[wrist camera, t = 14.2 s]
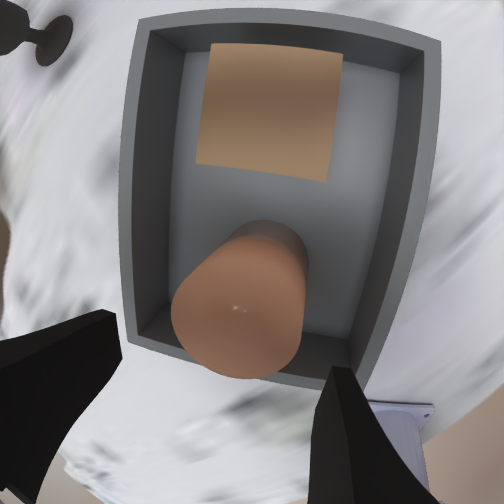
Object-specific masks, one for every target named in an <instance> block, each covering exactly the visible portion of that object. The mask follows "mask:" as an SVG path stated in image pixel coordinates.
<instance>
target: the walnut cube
mask: <svg viewBox="0 0 504 504" xmlns="http://www.w3.org/2000/svg"><path fill="white" fill-rule="evenodd" d="M342 60H343V54H340V53H334V52H328V51H322V50H315V49H307V48H299V47H290V46H278V45H264V44H237V43H216V44H211V50H210V56H209V62H208V68H207V75H206V81H205V88H204V95H203V102H202V110H201V118H200V126H199V134H198V143H197V152H196V162H195V163H196V164H205V165H214V166H223V167H231V168H238V169H246V170H253V171H260V172H267V173H273V174H280V175H286V176H292V177H298V178H304V179H309V180H315V181H320V182H326V181H327V175H328V169H329V162H330V156H331V149H332V142H333V135H334V128H335V121H336V113H337V105H338V97H339V88H340V79H341V70H342Z"/></svg>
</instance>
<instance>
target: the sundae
mask: <svg viewBox="0 0 504 504" xmlns="http://www.w3.org/2000/svg"><path fill="white" fill-rule="evenodd" d="M29 24H30V20H29V17H28V13H27V11H26V10H25V9H23V8H21V7H20V6H18V5H16V4H14V3H12V2H10V1H7V0H0V56H1V55H6V54H9V53H10V52H11V51H13V50H14V49H16V48H17V47H18V46H19V45H20V44H21V43H22V42H24V41H26V42H32V43H35V44H37V47H36V59H37V62H38V64H39V65H41V66H48V65H50V64H51V63H53V62H54V61H55V60H57V58H58V57H59V56H60V55H61V54H62V52H63V51H64V49H65V48H66V46H67V44H68V42H69V39H70V37H71V33H72V21H71V19H70V17H68V16H66V15H63V16H59V17H57V18H55V19H54V20H53V21H52V22H50V24H49V25H48V26H47V27H46V28H45V29H44V30H37V29H33V28H30V26H29Z"/></svg>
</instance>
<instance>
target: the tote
mask: <svg viewBox="0 0 504 504" xmlns="http://www.w3.org/2000/svg"><path fill="white" fill-rule="evenodd" d="M216 43H237V44H264V45H278V46H290V47H299V48H307V49H315V50H322V51H328V52H334V53H340V54H343V60H342V70H341V79H340V88H339V97H338V105H337V113H336V121H335V128H334V135H333V142H332V149H331V156H330V162H329V169H328V175H327V181H326V182H320V181H315V180H309V179H304V178H298V177H292V176H286V175H280V174H273V173H267V172H260V171H253V170H246V169H238V168H231V167H223V166H214V165H205V164H196V163H195V162H196V152H197V143H198V134H199V126H200V118H201V110H202V102H203V95H204V88H205V81H206V75H207V68H208V62H209V56H210V50H211V44H216ZM440 97H441V41H438V40H436V39H433V38H430V37H427V36H424V35H421V34H418V33H415V32H412V31H408V30H405V29H401V28H398V27H394V26H390V25H387V24H382V23H378V22H374V21H369V20H365V19H360V18H355V17H349V16H344V15H337V14H331V13H323V12H315V11H306V10H294V9H278V8H225V9H209V10H198V11H188V12H180V13H173V14H166V15H160V16H154V17H148V18H143V19H139V22H138V26H137V31H136V35H135V40H134V45H133V50H132V56H131V62H130V67H129V74H128V80H127V87H126V95H125V103H124V112H123V121H122V132H121V145H120V162H119V192H118V225H119V255H120V272H121V286H122V297H123V307H124V316H125V325H126V332H127V340H128V342H129V343H132V344H135V345H138V346H141V347H144V348H147V349H150V350H153V351H156V352H159V353H162V354H165V355H168V356H172V357H175V358H178V359H181V360H185V361H188V362H192V363H195V364H199V365H201V364H200V363H198V362H197V361H196V360H195V359H194V358H192V357H191V356H190V355H189V354H188V352H187V351H186V350H185V349H184V348H183V346H182V345H181V343H180V342H179V340H178V338H177V336H176V334H175V331H174V328H173V325H172V320H171V305H172V301H173V297H174V295H175V292H176V291H177V289H178V287H179V286H180V285H181V284H182V282H183V281H184V280H185V279H186V278H187V277H188V276H189V275H190V274H191V273H192V272H193V271H194V270H195V269H196V268H197V267H198V266H199V265H200V264H201V263H202V262H203V261H204V260H205V259H206V258H207V257H208V256H209V255H210V254H211V253H212V252H214V251H215V250H216V249H217V248H218V247H219V246H220V245H221V244H222V243H223V242H224V241H225V240H226V239H227V238H228V237H229V236H230V235H231V234H232V233H233V232H234V231H235V230H236V229H238V228H239V227H240V226H242V225H244V224H246V223H248V222H252V221H256V220H271V221H275V222H279V223H281V224H284V225H285V226H287V227H289V228H290V229H292V230H293V231H294V232H295V233H296V234H297V235H298V236H299V237H300V239H301V240H302V242H303V243H304V245H305V247H306V250H307V253H308V259H309V268H308V279H307V290H306V299H305V309H304V318H303V327H302V335H301V341H300V345H299V348H298V350H297V352H296V354H295V356H294V357H293V358H292V360H291V361H290V362H289V363H288V364H287V365H286V366H285V367H283V368H282V369H280V370H279V371H277V372H275V373H273V374H271V375H268V376H265V377H261V378H256V379H260V380H265V381H270V382H275V383H280V384H286V385H291V386H297V387H303V388H309V389H315V390H322V391H323V388H324V385H325V383H326V380H327V377H328V375H329V372H330V369H331V366H338V367H345V368H351V369H352V370H353V372H354V374H355V376H356V378H357V381H358V383H359V385H360V387H361V389H362V391H364V389H365V387H366V384H367V382H368V380H369V378H370V376H371V374H372V371H373V369H374V367H375V365H376V362H377V360H378V358H379V355H380V353H381V350H382V348H383V346H384V343H385V341H386V338H387V336H388V333H389V330H390V328H391V325H392V322H393V320H394V317H395V314H396V311H397V309H398V306H399V303H400V300H401V297H402V294H403V291H404V288H405V285H406V281H407V278H408V275H409V272H410V268H411V265H412V261H413V258H414V254H415V250H416V247H417V243H418V239H419V235H420V231H421V227H422V222H423V218H424V213H425V209H426V204H427V199H428V194H429V189H430V183H431V177H432V171H433V165H434V158H435V151H436V143H437V134H438V124H439V112H440Z"/></svg>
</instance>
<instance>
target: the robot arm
mask: <svg viewBox="0 0 504 504" xmlns="http://www.w3.org/2000/svg"><path fill="white" fill-rule="evenodd" d="M122 359H123V358H122V352H121V346H120V340H119V334H118V327H117V319H116V313H113V312H110V311H107V310H104V309H100V310H96V311H93V312H90V313H87V314H84V315H81V316H78V317H75V318H73V319H70V320H67V321H64V322H62V323H59V324H56V325H53V326H51V327H48V328H45V329H42V330H38V331H35V332H32V333H29V334H26V335H22V336H19V337H15V338H11V339H6V340H2V341H0V491H3V490H4V489H5V488H8V489H9V490H10V491H11V492H12V493H13V494H14V495H15V496H16V497H18V498H19V499H20V500H21V501H22V502H23V503H25V504H35V503H36V500H37V497H38V494H39V491H40V488H41V485H42V482H43V480H44V477H45V475H46V473H47V471H48V468H49V466H50V464H51V462H52V460H53V458H54V456H55V454H56V452H57V450H58V449H59V447H60V445H61V443H62V442H63V440H64V438H65V437H66V435H67V433H68V432H69V430H70V428H71V427H72V426H73V424H74V423H75V422H76V420H77V419H78V418H79V417H80V415H81V414H82V413H83V412H84V410H85V409H86V408H87V407H88V406H89V404H90V403H91V402H92V401H93V400H94V398H95V397H96V396H97V395H98V394H99V392H100V391H101V390H102V389H103V388H104V386H105V385H106V384H107V383H108V381H109V380H110V379H111V377H112V375H113V374H114V372H115V371H116V369H117V367H118V366H119V364H120V362H121V360H122ZM434 410H435V409H434V406H433V405H410V404H391V403H377V402H368V401H367V399H366V397H365V395H364V393H363V391H362V389H361V387H360V385H359V383H358V381H357V378H356V376H355V374H354V372H353V370H352V369H351V368H345V367H338V366H331V369H330V372H329V375H328V377H327V380H326V383H325V385H324V388H323V391H322V393H321V396H320V399H319V401H318V404H317V406H316V409H315V415H314V421H313V428H312V435H311V454H310V475H309V492H308V502H307V504H446V503H443V502H442V501H437V500H436V499H435V498H434V497H433V496H432V495H431V494H430V490H429V484H428V477H427V471H426V465H425V460H424V455H423V449H422V444H421V440H420V435H419V432H420V430H421V429H422V428H423V426H424V425H425V424H426V422H427V421H428V419H429V418H430V417H431V415H432V414H433V412H434ZM0 504H4V503H3V502H2V501H1V500H0Z"/></svg>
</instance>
